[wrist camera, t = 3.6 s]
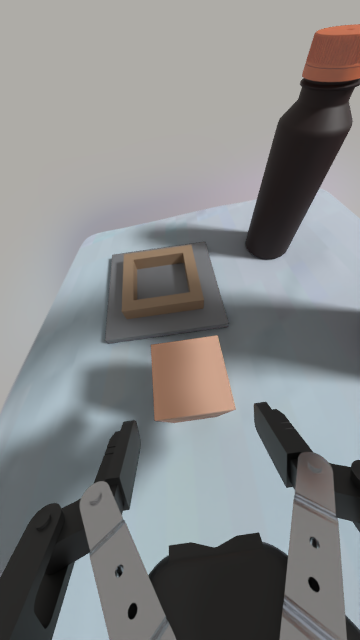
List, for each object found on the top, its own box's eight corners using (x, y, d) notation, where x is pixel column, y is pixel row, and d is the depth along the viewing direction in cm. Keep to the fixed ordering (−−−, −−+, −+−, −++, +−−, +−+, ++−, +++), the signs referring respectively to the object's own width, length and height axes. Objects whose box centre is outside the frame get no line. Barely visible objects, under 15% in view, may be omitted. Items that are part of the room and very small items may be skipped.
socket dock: (204, 246, 33) (205, 230, 30) (227, 326, 25) (231, 315, 22) (114, 259, 33) (107, 245, 30) (108, 343, 25) (98, 334, 22)
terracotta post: (207, 374, 22) (217, 335, 12) (216, 416, 20) (235, 409, 10) (170, 379, 22) (150, 344, 12) (174, 422, 20) (154, 420, 10)
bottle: (263, 266, 30) (360, 39, 12) (236, 242, 33) (283, 34, 15) (295, 249, 31) (426, 23, 13) (267, 228, 34) (343, 21, 17)
